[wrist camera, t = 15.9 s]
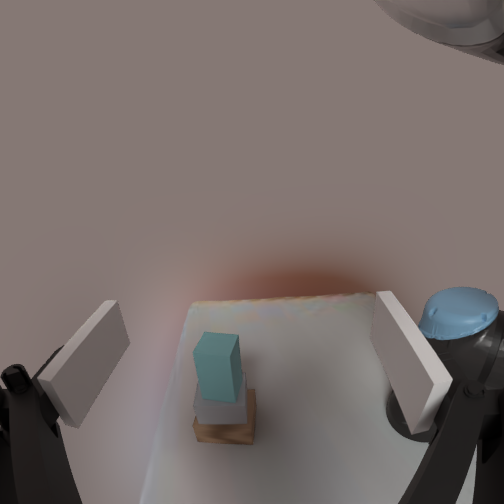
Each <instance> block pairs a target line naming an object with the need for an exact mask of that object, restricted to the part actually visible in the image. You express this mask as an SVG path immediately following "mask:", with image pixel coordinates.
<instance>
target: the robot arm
mask: <svg viewBox="0 0 504 504" xmlns="http://www.w3.org/2000/svg"><path fill="white" fill-rule="evenodd" d="M374 1H375V2H376V3H377V4H378V6H380V8H381V9H382V10H383V11H384V12H385V13H387V14H388V15H389V16H390V17H391V18H392V19H394V20H395V21H396V22H398V23H399V24H401V25H402V26H404V27H405V28H407V29H409V30H411V31H412V32H414V33H416V34H419V35H421V36H423V37H425V38H427V39H430V40H432V41H435V42H437V43H439V44H443V45H445V46H448V47H451V48H454V49H456V50H459V51H462V52H464V53H467V54H470V55H473V56H476V57H479V58H482V59H486V60H489V61H492V62H495V63H498V64H502V65H504V0H374ZM418 327H419V328H418ZM418 327H417V326H416V324H415V323H414V322H413V320H412V319H411V317H410V316H409V315H408V313H407V312H406V311H405V309H404V308H403V306H402V305H401V304H400V302H399V301H398V300H397V298H396V297H395V296H394V295H393V293H392V292H391V291H381V292H376V301H375V308H374V316H373V323H372V329H371V336H370V339H371V341H372V343H373V345H374V348H375V350H376V352H377V354H378V356H379V358H380V361H381V363H382V365H383V367H384V370H385V372H386V374H387V376H388V379H389V381H390V383H391V386H392V388H393V391H392V393H391V395H390V398H389V401H388V404H387V417H388V420H389V422H390V424H391V425H392V427H393V428H394V429H395V430H396V431H397V432H398V433H399V434H401V435H402V436H404V437H406V438H408V439H410V440H413V441H418V442H429V443H428V444H429V446H428V449H427V451H426V453H425V455H424V457H423V459H422V461H421V463H420V465H419V467H418V469H417V471H416V473H415V475H414V477H413V479H412V480H411V482H410V484H409V486H408V488H407V489H406V491H405V493H404V495H403V496H402V498H401V500H400V501H399V503H398V504H455V503H456V501H457V499H458V496H459V494H460V491H461V489H462V486H463V484H464V481H465V478H466V475H467V473H468V470H469V467H470V464H471V461H472V458H473V455H474V451H475V448H476V445H477V461H476V476H475V487H474V495H473V503H472V504H504V311H501V310H499V307H498V302H497V300H496V298H495V297H494V296H493V295H491V294H487V292H486V291H484V290H481V289H477V288H470V287H454V288H448V289H445V290H442V291H439V292H437V293H436V294H434V295H433V296H432V297H431V298H430V299H429V300H428V301H427V303H426V305H425V308H424V312H423V315H422V318H421V321H420V322H419V325H418ZM129 345H130V341H129V338H128V335H127V332H126V328H125V325H124V321H123V318H122V315H121V311H120V308H119V304H118V301H112V300H109V301H108V300H106V301H105V302H104V303H103V304H102V305H101V306H100V307H99V308H98V309H97V310H96V311H95V312H94V314H93V315H92V316H91V317H90V318H89V319H88V320H87V321H86V322H85V323H84V324H83V325H82V327H81V328H80V329H79V330H78V331H77V332H76V333H75V334H74V335H73V337H72V338H71V339H70V340H69V341H68V342H67V343H66V344H65V345H63V346H62V347H60V348H59V349H58V350H56V351H55V352H54V353H53V354H52V356H51V357H50V358H49V359H48V360H47V361H46V364H44V365H43V366H42V367H41V368H40V369H39V371H38V372H37V373H36V374H35V375H34V377H33V378H32V379H30V377H29V375H28V373H27V371H26V369H25V368H24V366H23V365H21V364H14V365H11V366H9V367H7V368H6V369H5V370H4V371H3V372H2V374H1V379H2V380H3V382H4V384H5V386H6V387H7V389H2V387H1V386H0V426H1V427H0V504H82V501H81V498H80V496H79V493H78V490H77V487H76V484H75V481H74V478H73V475H72V472H71V469H70V465H69V462H68V458H67V455H66V451H65V447H64V443H63V439H62V435H61V431H60V426H59V425H58V423H57V421H56V420H57V419H58V417H59V416H60V417H61V419H62V420H63V422H64V423H65V425H68V426H71V427H75V428H79V427H80V425H81V424H82V422H83V420H84V418H85V417H86V415H87V413H88V411H89V410H90V408H91V406H92V405H93V403H94V401H95V399H96V398H97V396H98V395H99V393H100V391H101V390H102V388H103V386H104V384H105V383H106V381H107V380H108V378H109V376H110V375H111V373H112V371H113V370H114V368H115V367H116V365H117V364H118V362H119V360H120V359H121V357H122V356H123V354H124V352H125V351H126V349H127V348H128V346H129Z"/></svg>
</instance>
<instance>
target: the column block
mask: <svg viewBox="0 0 504 504" xmlns="http://www.w3.org/2000/svg"><path fill="white" fill-rule="evenodd" d="M193 356H194V361H195V366H196V371H197V376H198V380H199V385H200V390H201V394H202V399H208V400H215V401H222V402H230V403H236V400H237V397H238V394H239V390H240V387H241V384H242V381H243V380H242V370H241V359H240V348H239V336H238V335H235V334H223V333H211V332H204V334H203V335H202V337H201V339H200V341H199V342H198V344H197V346H196V348H195V349H194V351H193Z"/></svg>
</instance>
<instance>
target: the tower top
mask: <svg viewBox="0 0 504 504" xmlns="http://www.w3.org/2000/svg"><path fill="white" fill-rule="evenodd" d="M242 380H243V381H242V384H241V387H240V390H239V394H238V397H237V400H236V403H230V402H222V401H215V400H208V399H202V394H201V390H200V385H199V380H198V384H197V389H196V394H195V400H194V405H193V407H194V410H195V414H196V417H197V420H198V423H199V424H247V383H246V373H245V372H242Z"/></svg>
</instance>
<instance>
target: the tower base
mask: <svg viewBox="0 0 504 504" xmlns="http://www.w3.org/2000/svg"><path fill="white" fill-rule="evenodd" d="M255 416H256V397H255V390H247V424H199V423H198V420H197V417H196V416H195V420H194V424H193V428H194V431H195V434H196V437H197V440H198V442H208V443H222V444H246V445H253V440H254V428H255Z"/></svg>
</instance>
